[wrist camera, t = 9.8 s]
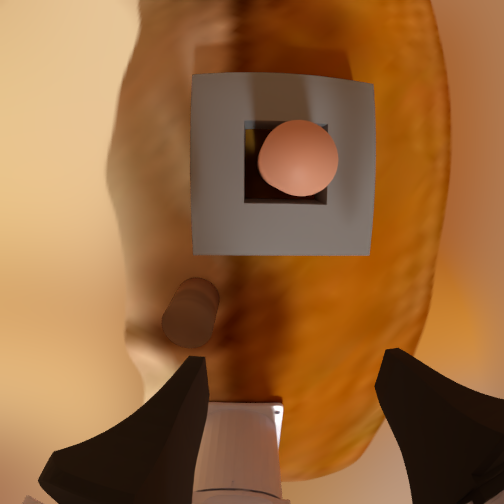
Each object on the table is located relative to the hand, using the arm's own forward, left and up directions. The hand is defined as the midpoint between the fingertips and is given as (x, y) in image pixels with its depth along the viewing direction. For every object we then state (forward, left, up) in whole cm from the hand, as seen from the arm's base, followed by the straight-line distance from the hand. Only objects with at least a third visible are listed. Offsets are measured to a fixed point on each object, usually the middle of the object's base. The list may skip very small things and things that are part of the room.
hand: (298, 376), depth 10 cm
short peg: (-1, +6, -9) cm, 11 cm away
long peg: (+8, 0, -9) cm, 12 cm away
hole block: (+8, 0, -9) cm, 12 cm away
